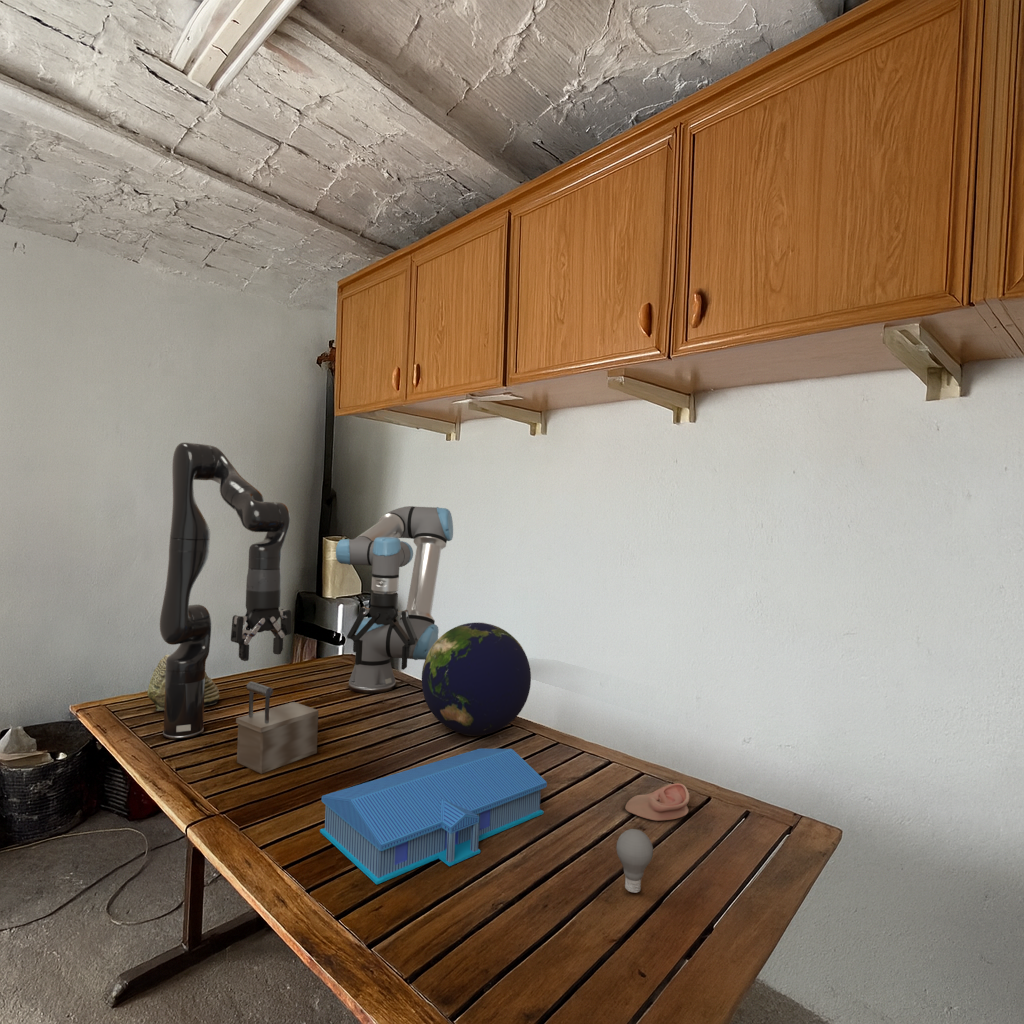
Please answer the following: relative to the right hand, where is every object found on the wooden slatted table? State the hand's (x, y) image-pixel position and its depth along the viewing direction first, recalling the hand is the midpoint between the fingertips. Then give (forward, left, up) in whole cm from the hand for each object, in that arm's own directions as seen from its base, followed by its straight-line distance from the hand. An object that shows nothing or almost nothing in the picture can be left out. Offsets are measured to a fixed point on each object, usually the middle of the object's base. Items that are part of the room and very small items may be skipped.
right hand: (381, 666), depth 180 cm
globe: (+2, +28, -16) cm, 32 cm away
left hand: (+36, -16, +10) cm, 40 cm away
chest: (+31, -14, -16) cm, 37 cm away
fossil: (+5, -58, -16) cm, 60 cm away
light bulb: (+64, +69, -16) cm, 96 cm away
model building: (+52, +33, -16) cm, 63 cm away
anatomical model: (+34, +75, -16) cm, 84 cm away
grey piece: (+31, -14, -6) cm, 34 cm away
